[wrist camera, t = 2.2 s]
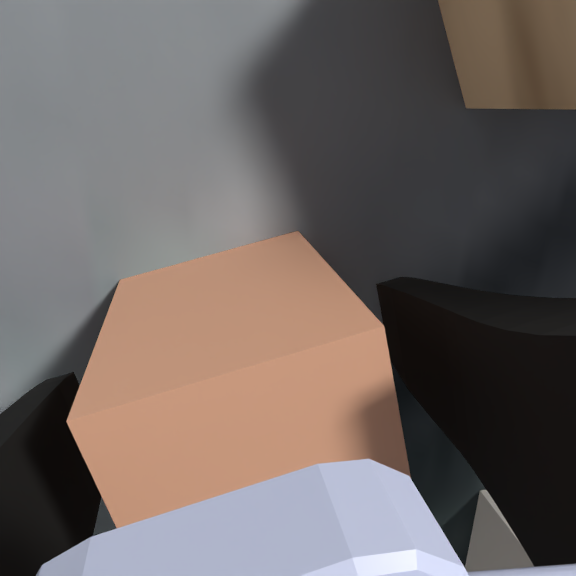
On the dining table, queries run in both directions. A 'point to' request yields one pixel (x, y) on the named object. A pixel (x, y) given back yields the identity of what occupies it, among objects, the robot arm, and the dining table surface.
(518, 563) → the off-white cube
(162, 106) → the dining table surface
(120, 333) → the terracotta block
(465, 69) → the oak cube
